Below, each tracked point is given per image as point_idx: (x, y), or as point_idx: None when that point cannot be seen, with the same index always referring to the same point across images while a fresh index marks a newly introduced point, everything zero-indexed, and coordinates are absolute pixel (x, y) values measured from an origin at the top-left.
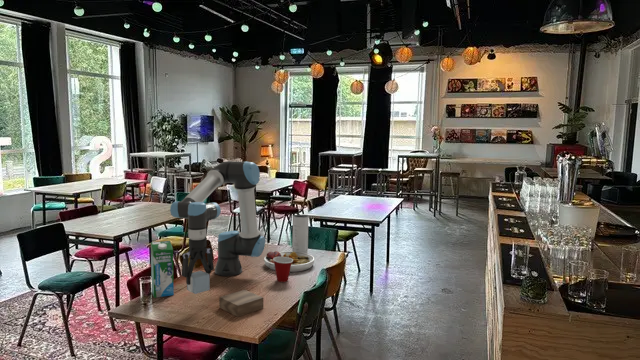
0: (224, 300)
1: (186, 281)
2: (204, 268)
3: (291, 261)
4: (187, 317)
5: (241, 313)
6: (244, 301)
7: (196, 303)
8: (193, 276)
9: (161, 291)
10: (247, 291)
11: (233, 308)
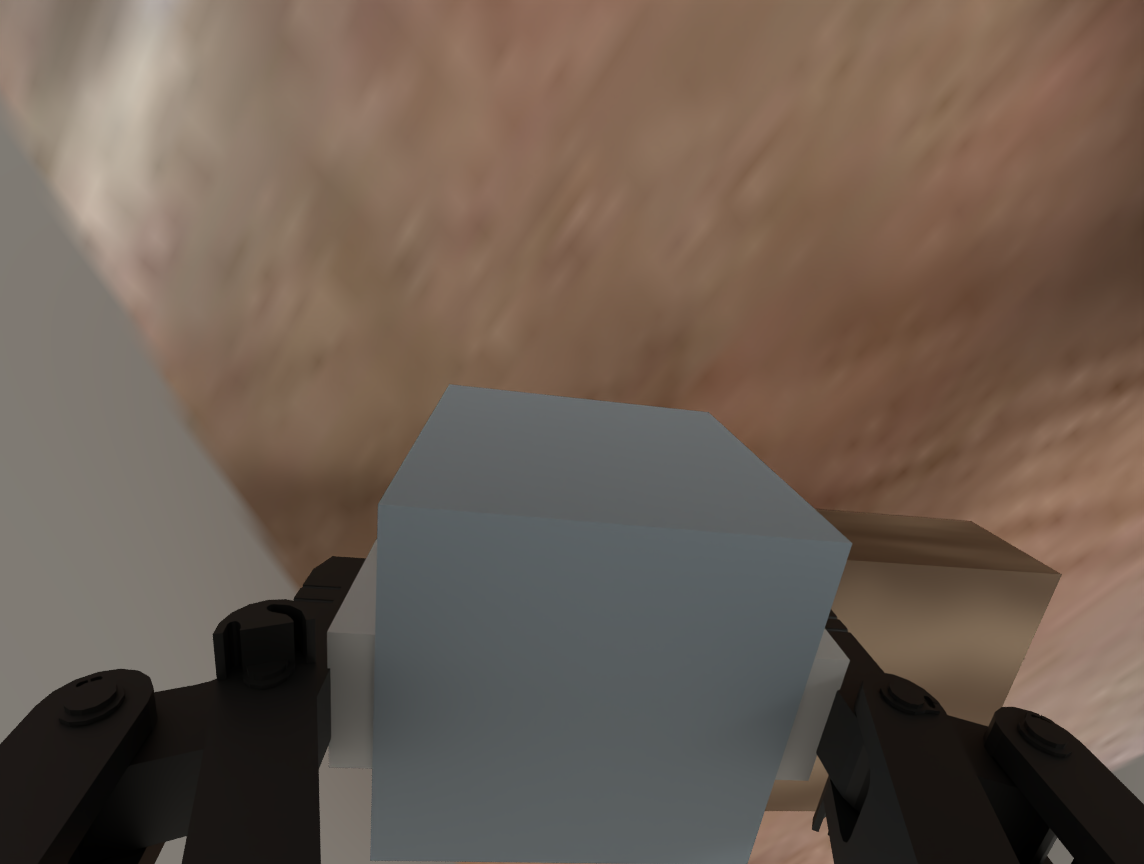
0: None
1: (300, 595)
2: (877, 776)
3: None
4: (386, 470)
5: None
6: (798, 781)
7: (663, 240)
8: (412, 758)
9: None
10: (1026, 628)
11: None
